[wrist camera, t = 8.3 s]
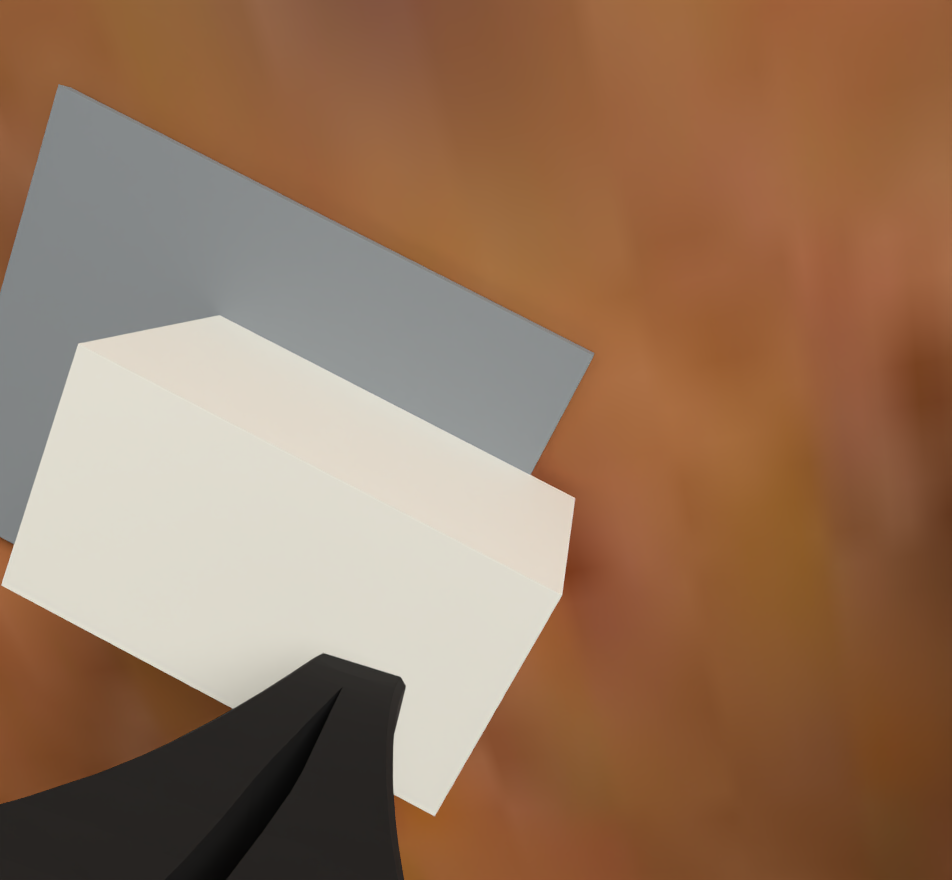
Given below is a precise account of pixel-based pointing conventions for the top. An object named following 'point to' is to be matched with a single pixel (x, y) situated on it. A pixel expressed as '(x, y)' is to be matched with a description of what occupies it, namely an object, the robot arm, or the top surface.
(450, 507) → the block
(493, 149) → the top surface
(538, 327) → the grey flat panel
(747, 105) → the top surface
